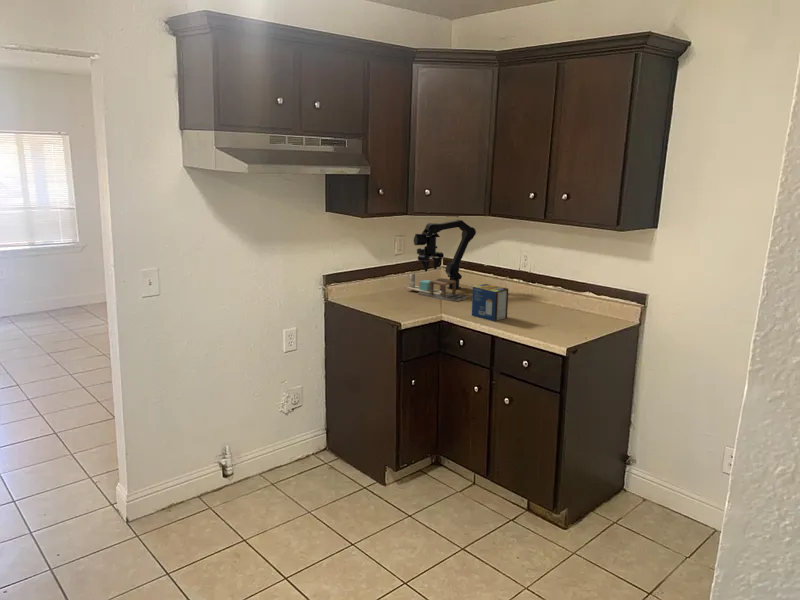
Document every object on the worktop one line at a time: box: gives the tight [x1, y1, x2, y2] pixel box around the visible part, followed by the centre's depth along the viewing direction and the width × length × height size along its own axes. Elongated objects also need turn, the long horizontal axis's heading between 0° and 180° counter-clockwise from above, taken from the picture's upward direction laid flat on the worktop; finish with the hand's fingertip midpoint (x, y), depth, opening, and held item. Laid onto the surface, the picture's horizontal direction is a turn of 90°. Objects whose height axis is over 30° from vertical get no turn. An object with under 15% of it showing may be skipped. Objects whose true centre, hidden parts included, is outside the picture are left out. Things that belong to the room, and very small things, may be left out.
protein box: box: [471, 283, 509, 322], centre depth 318 cm, size 10×15×16 cm
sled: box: [406, 273, 447, 295], centre depth 368 cm, size 8×24×9 cm, turn 51°
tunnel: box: [417, 277, 469, 302], centre depth 361 cm, size 12×27×9 cm, turn 51°
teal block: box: [418, 279, 431, 291], centre depth 368 cm, size 6×6×5 cm
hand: (430, 270), depth 375 cm, fingers open, 9 cm apart
